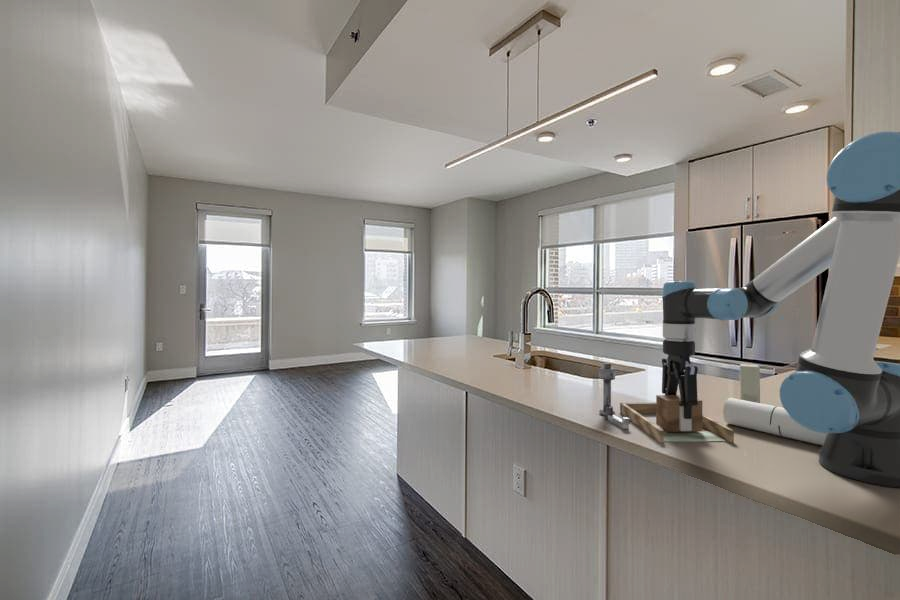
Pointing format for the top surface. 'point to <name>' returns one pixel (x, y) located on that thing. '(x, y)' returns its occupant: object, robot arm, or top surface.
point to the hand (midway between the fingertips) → (678, 426)
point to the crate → (675, 413)
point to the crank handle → (617, 418)
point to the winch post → (606, 385)
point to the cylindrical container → (768, 420)
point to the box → (750, 383)
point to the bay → (660, 435)
